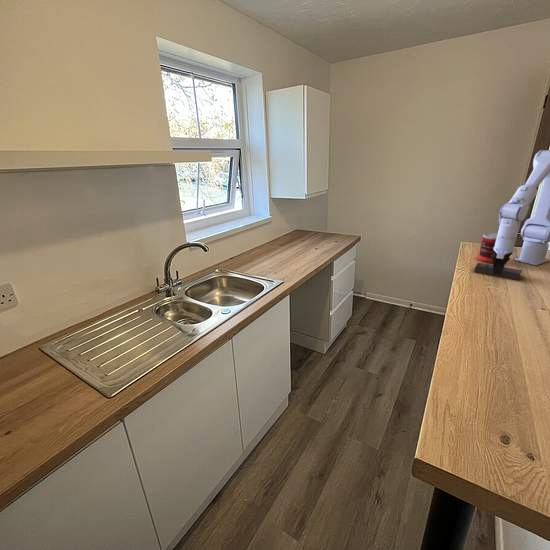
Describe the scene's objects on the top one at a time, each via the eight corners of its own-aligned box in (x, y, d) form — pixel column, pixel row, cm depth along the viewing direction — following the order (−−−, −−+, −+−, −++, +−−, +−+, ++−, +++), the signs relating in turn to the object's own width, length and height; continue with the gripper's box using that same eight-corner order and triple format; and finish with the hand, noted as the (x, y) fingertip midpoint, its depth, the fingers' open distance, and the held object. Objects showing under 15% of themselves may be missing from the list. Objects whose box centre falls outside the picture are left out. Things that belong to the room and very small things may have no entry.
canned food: (497, 258, 131) (503, 233, 126) (500, 264, 124) (507, 238, 120) (476, 256, 134) (481, 232, 129) (479, 262, 127) (484, 237, 123)
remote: (474, 272, 118) (475, 265, 117) (476, 268, 121) (477, 262, 120) (518, 280, 109) (520, 273, 108) (519, 276, 112) (521, 269, 111)
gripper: (518, 243, 102) (508, 279, 107) (522, 233, 112) (512, 267, 117) (493, 240, 106) (484, 275, 111) (499, 231, 116) (491, 264, 121)
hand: (497, 271), depth 115 cm, fingers open, 5 cm apart
